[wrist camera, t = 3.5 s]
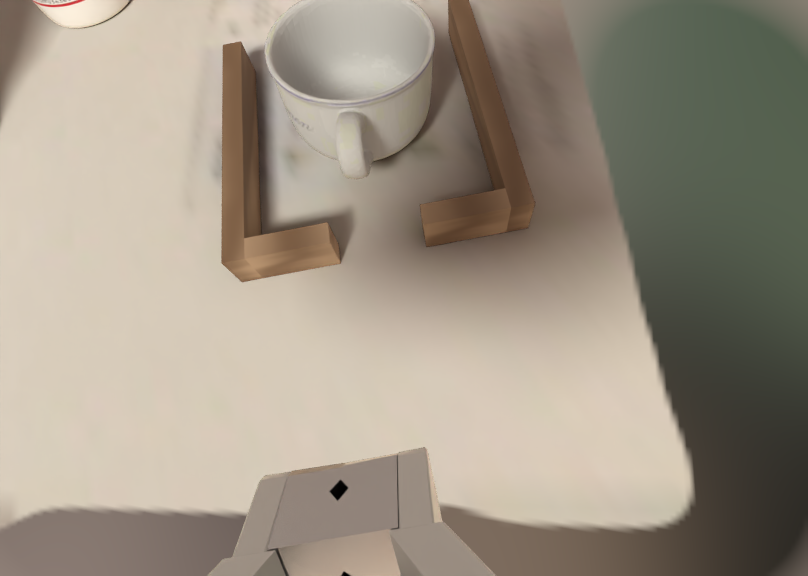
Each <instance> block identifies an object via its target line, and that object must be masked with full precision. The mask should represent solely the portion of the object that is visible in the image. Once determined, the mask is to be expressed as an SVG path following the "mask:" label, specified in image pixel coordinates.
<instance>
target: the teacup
mask: <svg viewBox="0 0 808 576" xmlns="http://www.w3.org/2000/svg"><path fill="white" fill-rule="evenodd" d="M434 48H435V33H434V28H433V25H432V23H431V21H430V19H429V17H428V16H427V14H426V13H425V12H424V11H423V9H422V8H421V7H420V6H418V5H417V4H416V3H415V2H413V1H412V0H301V1H299V2H298V3H296V4H295V5H293V6H292V7H291V8H289V9H288V10H287V11H286V12H285V13H283V14H282V15H281V16H280V17H279V19H278V20H277V21H276V22H275V23H274V25H273V27H272V28H271V30H270V32H269V34H268V37H267V39H266V43H265V52H264V54H265V59H266V64H267V67H268V69H269V72H270V74H271V76H272V77H273V79H274V80H275V82H276V85H277V88H278V90H279V93H280V95H281V98H282V100H283V103H284V105H285V108H286V110H287V112H288V115H289V117H290V119H291V121H292V123H293V125H294V127H295V128H296V130H297V131H298V133H299V135H300V136H301V137H302V138H303V139H304V141H305V142H306V143H307V144H308V145H309V146H311V147H312V148H313V149H315V150H316V151H317V152H319V153H321V154H323V155H325V156H327V157H330V158H332V159H335V160H339V164H340V168H341V171H342V173H343V174H344V176H345V177H347V178H350V179H360V178H364V177H367V176H368V174H369V173H370V168H371V164H372V161H376V160H379V159H383V158H386V157H388V156H390V155H392V154H394V153H396V152H398V151H400V150H401V149H403V148H404V147H405V146H407V145H408V144H409V143H410V142H411V141H412V140H413V139H414V138H415V137H416V136H417V134H418V133H419V131H420V130H421V128H422V126H423V124H424V122H425V120H426V117H427V114H428V111H429V106H430V99H431V89H432V69H433V52H434Z"/></svg>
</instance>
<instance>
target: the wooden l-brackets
mask: <svg viewBox="0 0 808 576" xmlns="http://www.w3.org/2000/svg"><path fill="white" fill-rule="evenodd" d="M448 17H449V36H450V39H451V43H452V46H453V49H454V53H455V56H456V60H457V63H458V67H459V70H460V74H461V77H462V81H463V84H464V88H465V91H466V95H467V98H468V102H469V105H470V108H471V112H472V115H473V119H474V122H475V126H476V129H477V133H478V136H479V140H480V143H481V147H482V150H483V154H484V157H485V161H486V164H487V167H488V171H489V174H490V178H491V181H492V185H493V188H494V190H493V191H488V192H483V193H477V194H472V195H467V196H462V197H457V198H451V199H446V200H441V201H436V202H431V203H425V204H420V210H421V218H422V226H423V232H424V237H425V242H426V247H430V246H435V245H441V244H446V243H451V242H457V241H462V240H467V239H472V238H478V237H483V236H488V235H494V234H499V233H504V232H509V231H515V230H520V229H525V228H528V226H529V223H530V219H531V216H532V213H533V209H534V206H535V201H534V198H533V195H532V192H531V189H530V186H529V183H528V180H527V177H526V174H525V171H524V167H523V164H522V161H521V158H520V155H519V152H518V149H517V146H516V143H515V140H514V137H513V134H512V131H511V128H510V125H509V122H508V119H507V116H506V113H505V110H504V106H503V103H502V100H501V97H500V94H499V91H498V88H497V85H496V82H495V79H494V76H493V73H492V70H491V67H490V64H489V61H488V58H487V55H486V52H485V49H484V46H483V42H482V39H481V36H480V33H479V30H478V27H477V24H476V21H475V18H474V15H473V12H472V9H471V6H470V3H469V0H448ZM340 263H341V261H340V252H339V244H338V242H337V240H336V238H335V236H334V234H333V232H332V230H331V228H330V226H329V224H328V222H326V223H321V224H316V225H311V226H306V227H300V228H295V229H290V230H285V231H280V232H274V233H269V234H264V235H261V207H260V178H259V150H258V121H257V93H256V71H255V69H254V67H253V65H252V63H251V61H250V59H249V57H248V55H247V53H246V51H245V49H244V47H243V45H242V43H241V42H236V43H231V44H226V45H223V103H222V264H223V265H224V266H225V267H226V268H227V269H228V270H229V271H231V272H232V273H233V274H234V275H235V276H236V277H237V278H238V279H239V280H240V281H241V282H245V281H250V280H256V279H261V278H266V277H271V276H277V275H282V274H287V273H293V272H298V271H303V270H308V269H314V268H319V267H324V266H330V265H335V264H340Z"/></svg>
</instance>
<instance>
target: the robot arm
mask: <svg viewBox="0 0 808 576" xmlns="http://www.w3.org/2000/svg"><path fill="white" fill-rule="evenodd" d="M207 576H496V575H495V574H494V573H493V572H492V571H491V570H490V569H489V568H488V567H487V566H486V565H485V564H484V563H483V562H482V561H481V560H480V559H479V557H477V555H476V554H474V552H473V551H472V550H471V549H470V548H469V547H468V546H467V545H466V544H465V543H464V542H463V541H462V540H461V539H460V538H459V537H458V536H457V535H456V534H455V533H454V532H453V531H452V530H451V529H450V528H449V527H448V526H447V525H446V524H445V523H444V522H442V519H441V513H440V508H439V503H438V497H437V493H436V488H435V483H434V479H433V474H432V469H431V465H430V460H429V455H428V452H427V449H426V448H425V447H423V448H418V449H413V450H408V451H403V452H399V453H396V454H390V455H385V456H380V457H374V458H369V459H363V460H358V461H353V462H347V463H341V464H334V465H328V466H321V467H314V468H308V469H301V470H295V471H292V472H285V473H279V474H272V475H266V476H264V477H263V478H262V479H261V480H260V482H259V484H258V487H257V489H256V492H255V495H254V498H253V501H252V503H251V506H250V509H249V512H248V515H247V517H246V520H245V523H244V526H243V529H242V531H241V534H240V537H239V540H238V543H237V545H236V548H235V551H234V554H233V557H232V558H226V559H223V560H222V561H221V562H220V563H219V564H218V565H217V566H216V567H215V568H214V569H213V570H212V571H211V572H210V573H209V574H208V575H207Z"/></svg>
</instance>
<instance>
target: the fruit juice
mask: <svg viewBox="0 0 808 576" xmlns="http://www.w3.org/2000/svg"><path fill="white" fill-rule="evenodd" d="M32 1H33V2H34V3H35V4H36V5H37V6H38V8H39V9H40V10H41V11H42V12H43V13H44V14H45V15H46V16H47V17H48V18H49V19H51V20H52V21H53V22H55V23H56V24H58V25H60V26H63V27H67V28H83V27H89V26H93V25H96V24H99V23H101V22H103V21H106V20H107V19H109V18H111V17H113V16H114V15H116V14H117V13H118V12H120V11H121V10H122V9H123V8H124V7H125V6H126V5H127V4H128V2H129V1H130V0H32Z"/></svg>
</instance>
